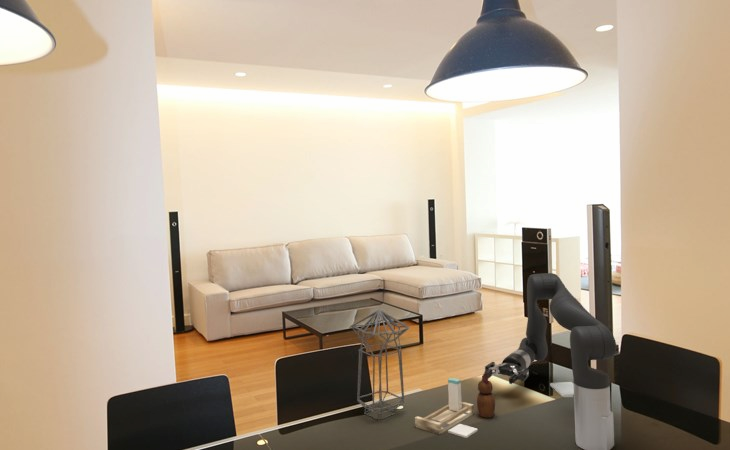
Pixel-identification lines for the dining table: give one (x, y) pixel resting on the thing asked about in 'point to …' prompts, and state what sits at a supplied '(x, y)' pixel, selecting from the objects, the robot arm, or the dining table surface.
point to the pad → (462, 430)
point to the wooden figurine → (485, 397)
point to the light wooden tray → (444, 418)
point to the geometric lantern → (380, 358)
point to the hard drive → (564, 388)
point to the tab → (454, 394)
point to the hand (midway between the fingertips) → (498, 378)
